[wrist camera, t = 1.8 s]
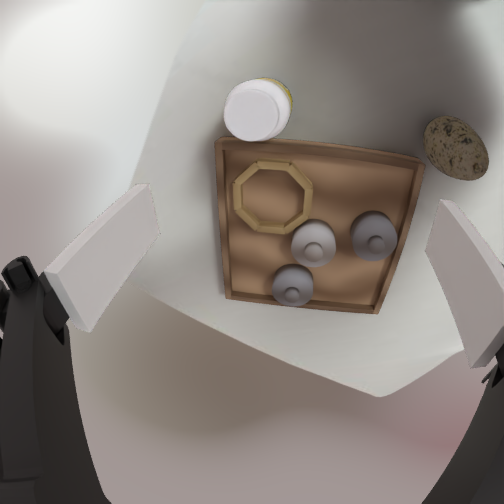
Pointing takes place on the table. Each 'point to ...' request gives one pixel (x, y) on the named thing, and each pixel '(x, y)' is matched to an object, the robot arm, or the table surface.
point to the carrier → (312, 221)
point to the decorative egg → (455, 148)
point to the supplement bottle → (257, 109)
